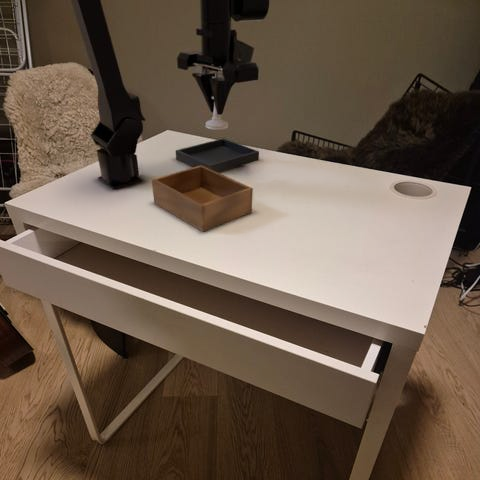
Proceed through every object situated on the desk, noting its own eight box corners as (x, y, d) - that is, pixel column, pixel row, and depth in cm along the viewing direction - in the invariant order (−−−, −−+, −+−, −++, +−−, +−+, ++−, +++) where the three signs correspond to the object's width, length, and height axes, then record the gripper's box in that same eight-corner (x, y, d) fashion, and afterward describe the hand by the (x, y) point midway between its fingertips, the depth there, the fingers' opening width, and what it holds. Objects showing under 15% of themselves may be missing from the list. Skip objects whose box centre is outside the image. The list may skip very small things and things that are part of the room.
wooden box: (202, 231, 68) (201, 206, 65) (154, 203, 76) (151, 179, 73) (251, 212, 74) (252, 188, 71) (202, 187, 82) (201, 165, 79)
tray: (210, 175, 87) (210, 165, 85) (176, 159, 93) (175, 150, 92) (258, 160, 94) (259, 151, 93) (223, 146, 101) (223, 138, 100)
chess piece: (201, 124, 90) (200, 71, 83) (222, 122, 92) (222, 70, 85) (211, 131, 86) (210, 76, 80) (232, 128, 88) (233, 74, 82)
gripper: (282, 25, 76) (275, 116, 86) (216, 17, 87) (217, 99, 97) (237, 28, 71) (235, 126, 81) (173, 18, 81) (178, 106, 91)
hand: (216, 113), depth 87 cm, fingers closed on chess piece
